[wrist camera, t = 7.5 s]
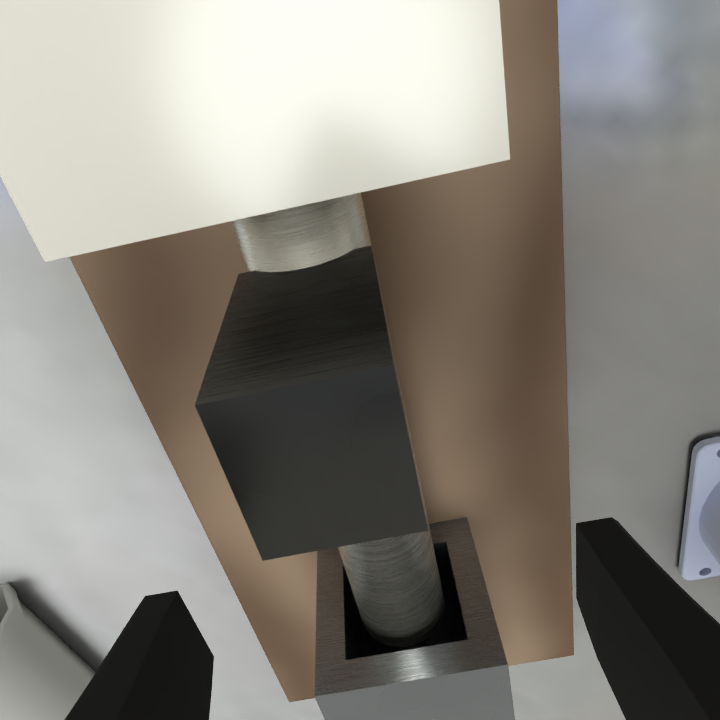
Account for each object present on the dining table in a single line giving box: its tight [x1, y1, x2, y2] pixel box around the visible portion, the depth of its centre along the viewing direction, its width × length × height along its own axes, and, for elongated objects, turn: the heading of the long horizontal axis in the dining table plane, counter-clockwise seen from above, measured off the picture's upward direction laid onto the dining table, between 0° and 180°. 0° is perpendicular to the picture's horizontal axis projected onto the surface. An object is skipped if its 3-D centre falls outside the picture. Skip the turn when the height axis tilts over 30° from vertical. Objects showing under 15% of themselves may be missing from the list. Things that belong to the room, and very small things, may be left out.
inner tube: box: [195, 193, 445, 647], centre depth 14 cm, size 3×19×8 cm, turn 12°
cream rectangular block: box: [0, 0, 510, 262], centre depth 11 cm, size 8×5×6 cm, turn 102°
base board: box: [70, 0, 574, 702], centre depth 21 cm, size 14×32×1 cm, turn 12°
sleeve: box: [315, 517, 515, 720], centre depth 23 cm, size 6×9×6 cm, turn 12°
